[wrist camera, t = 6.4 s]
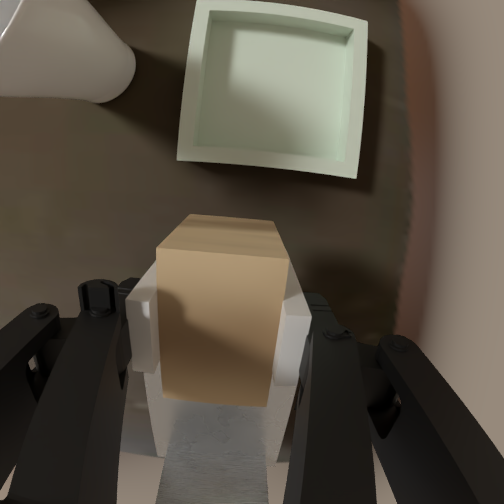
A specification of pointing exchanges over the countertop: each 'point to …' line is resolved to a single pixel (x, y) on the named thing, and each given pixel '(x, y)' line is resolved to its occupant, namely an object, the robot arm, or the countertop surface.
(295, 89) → the tray
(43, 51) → the drinking glass
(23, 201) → the countertop surface
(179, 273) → the wooden block
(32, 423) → the robot arm
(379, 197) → the countertop surface
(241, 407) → the grey toy cart
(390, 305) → the countertop surface
